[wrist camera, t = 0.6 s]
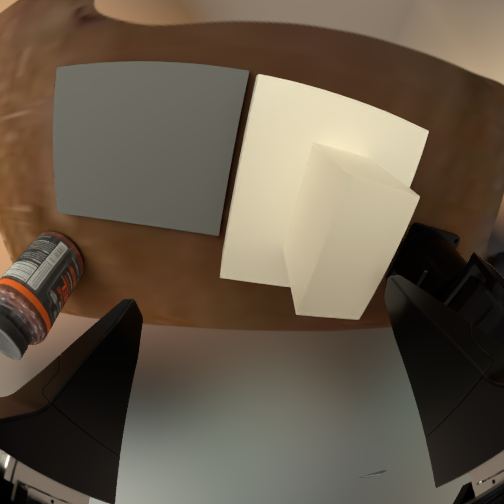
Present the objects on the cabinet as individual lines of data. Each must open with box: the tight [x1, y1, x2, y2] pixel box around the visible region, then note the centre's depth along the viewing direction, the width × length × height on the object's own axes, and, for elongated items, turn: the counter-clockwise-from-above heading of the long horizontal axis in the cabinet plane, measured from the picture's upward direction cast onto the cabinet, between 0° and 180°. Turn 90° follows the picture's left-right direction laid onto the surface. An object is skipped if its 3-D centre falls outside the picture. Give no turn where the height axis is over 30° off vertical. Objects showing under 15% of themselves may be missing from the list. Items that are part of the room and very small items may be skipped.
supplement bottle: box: [0, 231, 84, 360], centre depth 18 cm, size 6×6×11 cm
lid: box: [220, 74, 429, 320], centre depth 13 cm, size 9×11×8 cm
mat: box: [53, 61, 249, 236], centre depth 17 cm, size 14×12×1 cm
